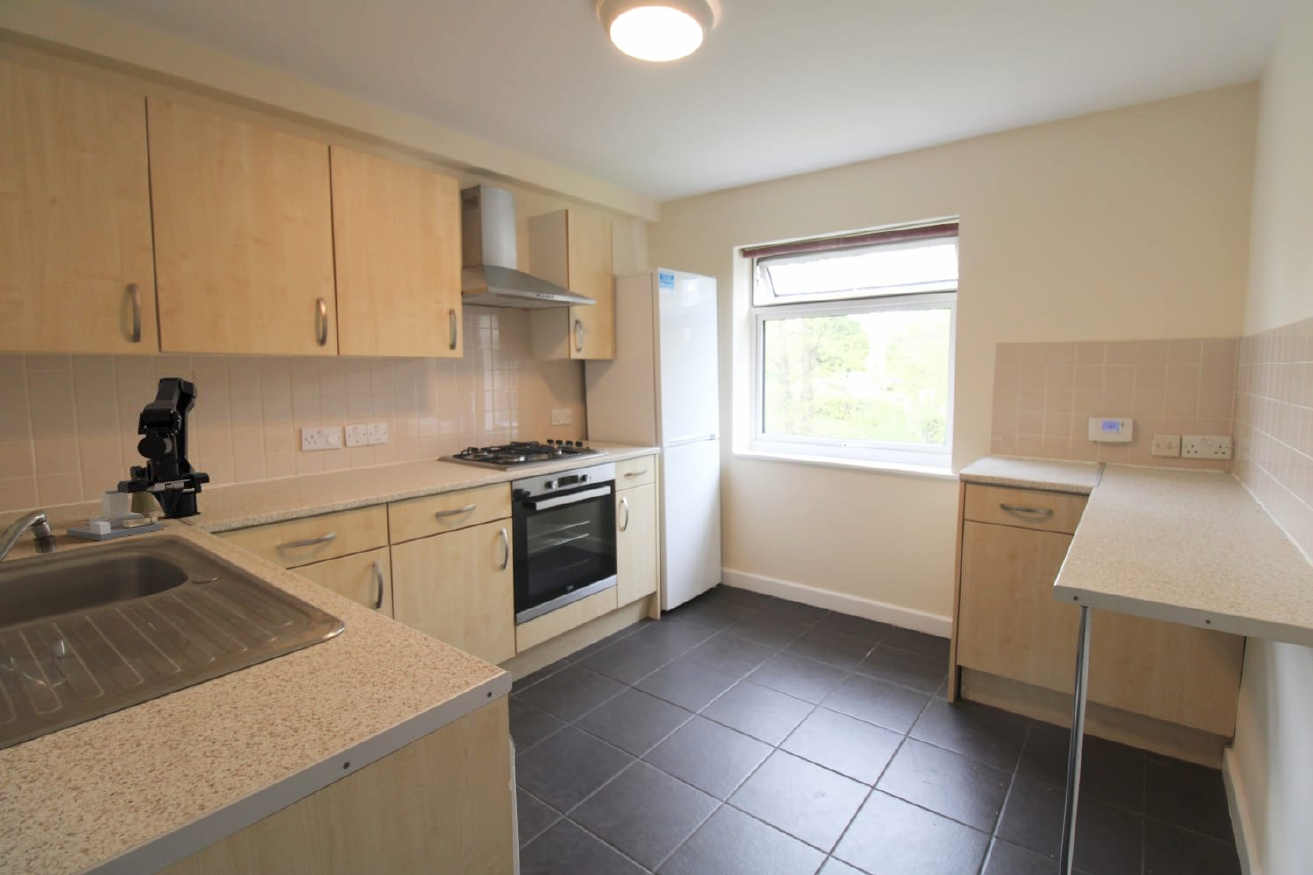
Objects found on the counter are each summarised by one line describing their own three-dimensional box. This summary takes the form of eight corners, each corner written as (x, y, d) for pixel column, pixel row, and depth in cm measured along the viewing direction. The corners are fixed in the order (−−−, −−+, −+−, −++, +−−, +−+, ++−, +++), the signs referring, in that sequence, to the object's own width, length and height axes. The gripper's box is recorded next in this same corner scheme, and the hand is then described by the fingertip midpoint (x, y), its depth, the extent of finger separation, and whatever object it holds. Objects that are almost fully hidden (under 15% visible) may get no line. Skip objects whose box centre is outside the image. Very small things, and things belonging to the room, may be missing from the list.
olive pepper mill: (148, 511, 187) (144, 475, 186) (162, 512, 185) (159, 475, 184) (125, 515, 181) (122, 478, 180) (140, 516, 179) (136, 478, 178)
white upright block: (122, 521, 165) (119, 488, 164) (130, 522, 163) (127, 489, 163) (103, 524, 162) (100, 491, 161) (111, 525, 160) (108, 492, 159)
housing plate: (128, 524, 169) (127, 509, 168) (163, 529, 161) (162, 514, 161) (66, 534, 157) (65, 519, 157) (101, 541, 149) (99, 524, 149)
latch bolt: (151, 521, 162) (150, 510, 162) (157, 522, 161) (156, 510, 161) (123, 526, 157) (122, 514, 157) (129, 527, 156) (128, 515, 155)
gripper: (185, 451, 175) (189, 506, 176) (103, 458, 158) (108, 519, 160) (208, 452, 170) (213, 509, 171) (126, 460, 154) (132, 522, 155)
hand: (168, 514), depth 164 cm, fingers closed
